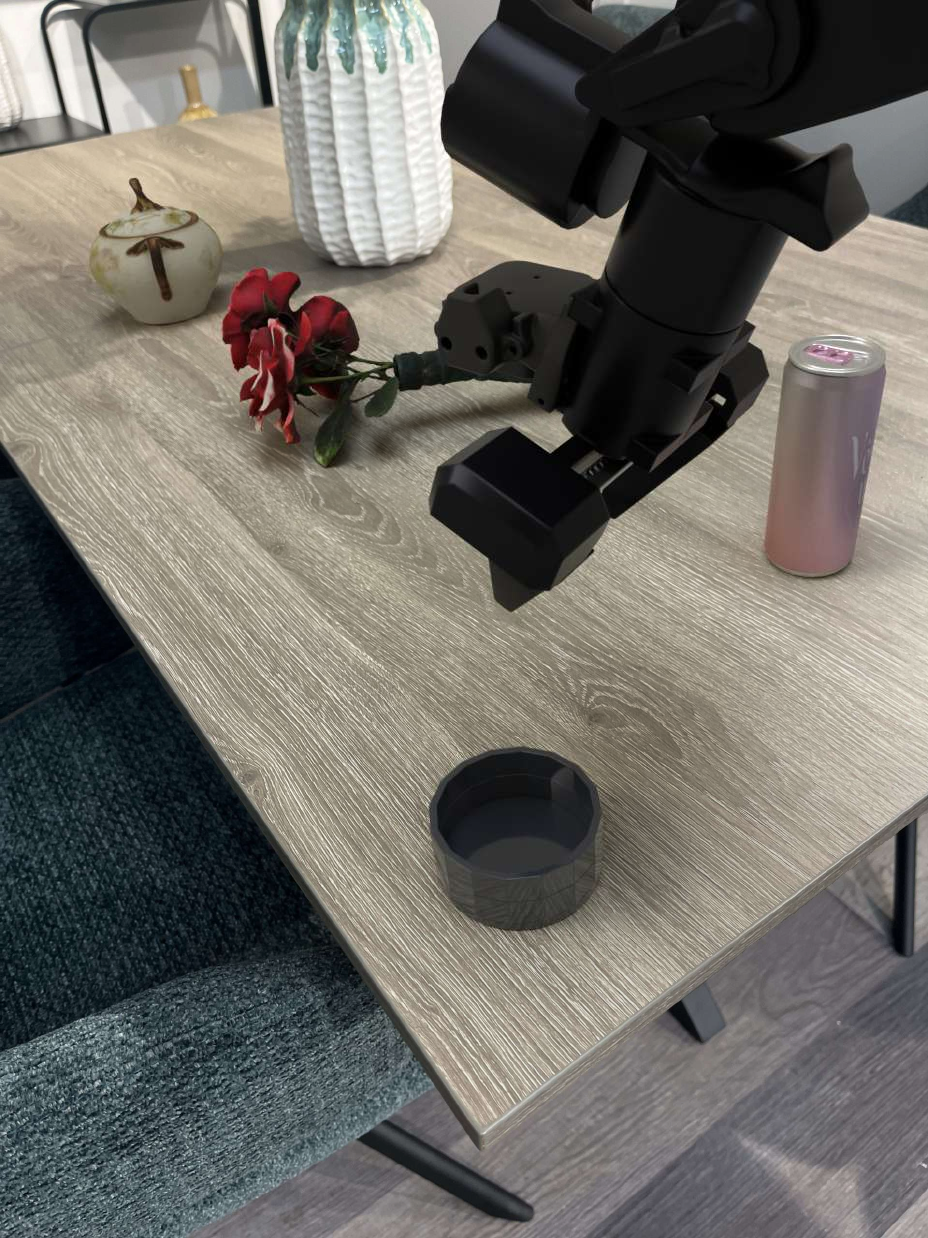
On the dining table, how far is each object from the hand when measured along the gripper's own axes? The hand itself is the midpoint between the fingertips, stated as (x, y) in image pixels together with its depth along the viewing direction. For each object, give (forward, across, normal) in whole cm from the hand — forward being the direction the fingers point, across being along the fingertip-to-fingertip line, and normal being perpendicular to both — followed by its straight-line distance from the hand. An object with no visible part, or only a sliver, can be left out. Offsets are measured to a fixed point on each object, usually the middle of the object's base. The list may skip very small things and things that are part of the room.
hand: (558, 556), depth 50 cm
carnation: (+25, -29, -26) cm, 46 cm away
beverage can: (+11, -24, +9) cm, 28 cm away
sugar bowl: (+42, -35, -68) cm, 87 cm away
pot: (+11, +8, +7) cm, 16 cm away
